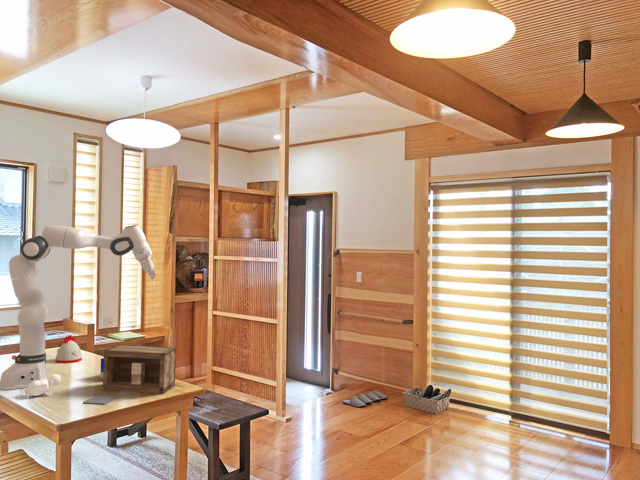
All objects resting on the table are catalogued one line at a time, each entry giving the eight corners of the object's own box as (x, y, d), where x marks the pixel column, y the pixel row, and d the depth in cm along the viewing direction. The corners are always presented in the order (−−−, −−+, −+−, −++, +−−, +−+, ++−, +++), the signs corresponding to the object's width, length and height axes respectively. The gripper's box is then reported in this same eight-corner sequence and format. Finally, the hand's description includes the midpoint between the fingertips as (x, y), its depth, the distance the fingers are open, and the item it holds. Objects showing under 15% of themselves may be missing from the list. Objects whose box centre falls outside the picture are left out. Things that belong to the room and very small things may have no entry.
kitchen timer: (50, 362, 298) (51, 336, 298) (68, 357, 311) (69, 332, 312) (69, 364, 294) (70, 338, 294) (87, 359, 307) (87, 334, 307)
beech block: (140, 384, 246) (140, 363, 246) (131, 383, 246) (131, 363, 246) (144, 382, 250) (145, 361, 250) (135, 381, 251) (136, 360, 251)
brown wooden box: (163, 394, 242) (164, 353, 242) (102, 390, 245) (103, 350, 245) (174, 386, 255) (175, 347, 256) (117, 382, 259) (118, 344, 259)
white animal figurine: (31, 405, 229) (66, 388, 237) (24, 389, 227) (59, 372, 236) (28, 400, 236) (62, 384, 244) (21, 384, 234) (55, 368, 242)
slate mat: (104, 404, 224) (104, 403, 224) (83, 403, 225) (83, 401, 225) (116, 398, 233) (116, 396, 233) (95, 396, 234) (95, 395, 235)
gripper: (139, 254, 280) (149, 277, 283) (135, 258, 261) (146, 283, 263) (150, 249, 282) (160, 272, 284) (147, 253, 262) (158, 278, 264)
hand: (153, 277), depth 273 cm, fingers open, 8 cm apart
